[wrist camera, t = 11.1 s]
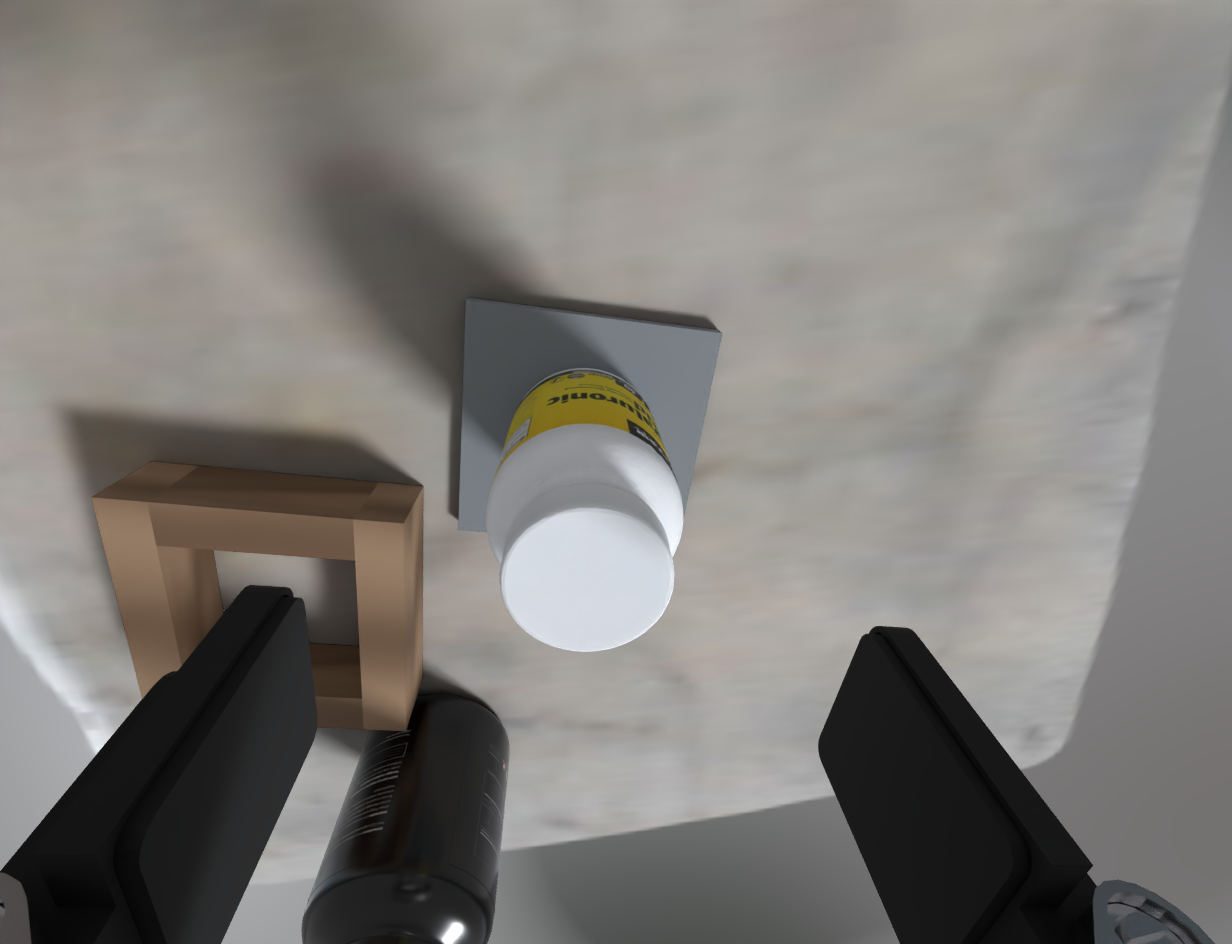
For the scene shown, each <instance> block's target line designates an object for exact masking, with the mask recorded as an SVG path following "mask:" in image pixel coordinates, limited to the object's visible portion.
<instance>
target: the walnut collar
mask: <svg viewBox="0 0 1232 944" xmlns="http://www.w3.org/2000/svg"><path fill="white" fill-rule="evenodd" d="M91 498H92V502H93V506H94V510H95V514H96V518H97V522H98V526H99V530H100V534H101V538H102V542H103V546H104V550H105V554H106V557H107V561H108V565H109V569H110V573H111V577H112V581H113V585H114V589H115V593H116V597H117V601H118V605H119V609H120V613H121V617H122V621H123V625H124V629H125V633H126V637H127V641H128V645H129V649H130V653H131V656H132V660H133V664H134V668H135V672H136V676H137V680H138V684H139V688H140V692H141V696H142V699H143V698H144V696H145V695H146V694H147V693H148V692H149V690H150V689H151V688H152V687H153V686H154V684H155V683H156V682H157V681H159V680H160V679H161V678H162V677H163V676H164V675H166V674H168V673H170V672H171V671H178V670H179V669H180V667H181V666H182V665H183V664H184V662H185V661H186V660H187V659H188V657H189V656H190V655H191V654H192V652H193V651H194V650H195V649H196V647H197V646H198V645H199V644H200V642H201V641H202V640H203V639H204V637H205V636H206V635H207V634H208V632H209V631H210V630H211V629H212V627H213V626H214V625H215V624H216V622H217V621H218V620H219V619H220V617H221V616H222V615H223V614H224V613H223V607H222V601H221V595H220V589H219V583H218V577H217V570H216V564H215V558H214V552H213V550H220V551H233V552H247V553H260V554H273V555H286V556H299V557H312V558H325V559H339V560H352V561H355V567H356V587H357V607H358V627H359V646H347V645H330V644H313V643H309V648H310V656H311V665H312V674H313V682H314V691H315V700H316V708H317V717H318V723H317V727H321V728H344V729H367V730H390V731H406V729H407V726H408V723H409V720H410V716H411V713H412V710H413V707H414V704H415V701H416V698H417V694H418V691H419V688H420V685H421V682H422V679H423V486H414V485H404V484H393V483H382V482H371V481H360V480H349V479H338V478H327V477H316V476H305V475H294V474H284V473H273V472H262V471H251V470H240V469H229V468H218V467H207V466H196V465H185V464H174V463H164V462H153V461H151V462H149V463H147V464H146V465H144V466H142V467H141V468H139V469H137V470H136V471H134V472H132V473H131V474H129V475H127V476H126V477H124V478H123V479H121V480H119V481H118V482H116V483H114V484H113V485H111V486H109V487H108V488H106V489H104V490H103V491H101V492H99V493H98V494H96V495H94V496H93V497H91Z"/></svg>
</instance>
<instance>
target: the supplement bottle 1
mask: <svg viewBox="0 0 1232 944" xmlns="http://www.w3.org/2000/svg"><path fill="white" fill-rule="evenodd" d="M508 764H509V740H508V737H507V733H506V731H505V729H504V727H503V725H502V724H501V722H500V721H499V720H498V718H497V717H496V716H495V715H494V714H493V713H492V712H490V711H489V710H488V709H486V708H485V707H484V706H482V705H480V704H478V703H476V702H474V701H472V700H469V699H466V698H463V697H459V696H454V695H445V694H433V695H424V696H418V697H417V698H416V701H415V704H414V707H413V710H412V713H411V716H410V720H409V723H408V726H407V729H406V731H390V730H371V731H370V733H369V736H368V738H367V741H366V743H365V746H364V749H363V751H362V753H361V756H360V759H359V762H358V764H357V767H356V770H355V773H354V775H353V778H352V781H351V784H350V786H349V789H348V792H347V795H346V797H345V800H344V803H343V806H342V808H341V811H340V814H339V817H338V819H337V822H336V825H335V828H334V831H333V833H332V836H331V839H330V842H329V844H328V847H327V850H326V853H325V855H324V858H323V861H322V864H321V866H320V869H319V872H318V875H317V877H316V880H315V883H314V886H313V888H312V891H311V894H310V897H309V900H308V903H307V907H306V909H305V913H304V916H303V921H302V942H303V944H487V943H488V941H489V938H490V935H491V932H492V926H493V919H494V912H495V902H496V891H497V881H498V880H497V879H498V871H499V861H500V850H501V840H502V829H503V819H504V808H505V798H506V787H507V777H508Z"/></svg>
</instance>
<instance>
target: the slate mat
mask: <svg viewBox="0 0 1232 944" xmlns="http://www.w3.org/2000/svg"><path fill="white" fill-rule="evenodd" d="M721 337H722V333H721V332H720V331H719V330H714V329H707V328H699V327H691V326H684V325H676V324H668V323H660V322H653V321H645V320H637V319H630V318H622V317H614V316H607V315H599V314H591V313H583V312H576V311H568V310H560V309H553V308H545V307H537V306H529V305H522V304H514V303H506V302H499V301H491V300H483V299H476V298H468V299H466V308H465V338H464V369H463V399H462V430H461V461H460V491H459V522H458V530H466V531H478V532H487V527H486V512H487V503H488V498H489V493H490V489H491V486H492V483H493V479H494V476H495V473H496V470H497V467H498V464H499V461H500V457H501V454H502V451H503V448H504V444H505V441H506V438H507V435H508V432H509V429H510V426H511V423H512V420H513V417H514V414H515V412H516V410H517V408H518V406H519V404H520V402H521V401H522V399H523V398H524V397H525V396H526V394H527V393H528V392H529V391H530V390H531V389H532V388H533V387H534V386H535V385H536V384H537V383H539V382H540V381H542V380H543V379H545V378H546V377H548V376H550V375H552V374H555V373H557V372H560V371H563V370H568V369H574V368H592V369H599V370H603V371H606V372H609V373H612V374H614V375H616V376H618V377H620V378H622V379H623V380H625V381H626V382H627V383H629V384H630V385H631V386H633V387H634V388H635V389H636V390H637V391H638V393H639V394H640V395H641V396H642V397H643V399H644V400H645V402H646V404H647V405H648V407H649V409H650V411H651V413H652V415H653V418H654V420H655V423H656V425H657V428H658V431H659V433H660V436H661V439H662V442H663V445H664V447H665V450H666V453H667V455H668V458H669V461H670V464H671V467H672V470H673V472H674V474H675V476H676V479H677V483H678V486H679V490H680V494H681V499H682V504H683V519H684V514H685V509H686V504H687V500H688V495H689V490H690V485H691V480H692V476H693V471H694V466H695V461H696V457H697V452H698V447H699V442H700V438H701V433H702V428H703V423H704V419H705V414H706V409H707V404H708V399H709V395H710V390H711V385H712V380H713V376H714V371H715V366H716V361H717V357H718V352H719V347H720V342H721ZM677 547H678V546H677Z"/></svg>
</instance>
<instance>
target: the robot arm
mask: <svg viewBox="0 0 1232 944" xmlns="http://www.w3.org/2000/svg"><path fill="white" fill-rule="evenodd" d="M317 723H318V717H317V708H316V700H315V691H314V682H313V674H312V665H311V656H310V648H309V639H308V630H307V622H306V613H305V605H304V601H303V599H302V598H295V597H294V596H293V592H292V591H291V589H290V588H287V587H272V586H257V585H249V586H247V587H245V588H244V589H243V590H242V591H241V592H240V594H239V595H238V596H237V597H236V599H235V600H234V601H233V602H232V604H231V605H230V606H229V607H228V609H227V610H226V611H225V612H224V614H223V615H222V616H221V617H220V619H219V620H218V621H217V622H216V624H215V625H214V626H213V627H212V629H211V630H210V631H209V632H208V634H207V635H206V636H205V637H204V639H203V640H202V641H201V642H200V644H199V645H198V646H197V647H196V649H195V650H194V651H193V652H192V654H191V655H190V656H189V657H188V659H187V660H186V661H185V662H184V664H183V665H182V666H181V667H180V669H179V670H178V671H171V672H170V673H168V674H166V675H164V676H163V677H162V678H161V679H160V680H159V681H157V682H156V683H155V684H154V686H153V687H152V688H151V689H150V690H149V692H148V693H147V694H146V695H145V696H144V698H143V699H142V700H141V701H140V703H139V704H138V705H137V706H136V707H135V709H134V710H133V711H132V712H131V713H130V715H129V716H128V717H127V718H126V719H125V721H124V722H123V723H122V724H121V726H120V727H119V728H118V729H117V730H116V732H115V733H114V734H113V735H112V736H111V738H110V739H109V740H108V741H107V743H106V744H105V745H104V746H103V747H102V749H101V750H100V751H99V752H98V753H97V755H96V756H95V757H94V758H93V759H92V761H91V762H90V763H89V764H88V766H87V767H86V768H85V769H84V770H83V772H82V773H81V774H80V775H79V776H78V778H77V779H76V780H75V781H74V783H73V784H72V785H71V786H70V787H69V789H68V790H67V791H66V792H65V793H64V795H63V796H62V797H61V799H60V800H59V801H58V802H57V803H56V804H55V806H54V807H53V808H52V809H51V810H50V812H49V813H48V814H47V815H46V816H45V818H44V819H43V820H42V821H41V823H40V824H39V825H38V826H37V827H36V829H35V830H34V831H33V832H32V834H31V835H30V836H29V837H28V838H27V840H26V841H25V842H24V843H23V845H22V846H21V847H20V848H19V849H18V850H17V852H16V853H15V854H14V855H13V856H12V858H11V859H10V860H9V862H8V863H7V864H6V865H5V866H4V867H3V869H2V870H1V871H0V944H221V942H222V940H223V938H224V936H225V934H226V931H227V929H228V927H229V925H230V923H231V921H232V918H233V916H234V914H235V912H236V910H237V907H238V905H239V903H240V901H241V899H242V896H243V894H244V892H245V890H246V888H247V886H248V883H249V881H250V879H251V877H252V875H253V872H254V870H255V868H256V866H257V864H258V862H259V859H260V857H261V855H262V853H263V851H264V848H265V846H266V844H267V842H268V840H269V837H270V835H271V833H272V831H273V829H274V827H275V824H276V822H277V820H278V818H279V816H280V813H281V811H282V809H283V807H284V805H285V802H286V800H287V798H288V796H289V794H290V792H291V789H292V787H293V785H294V783H295V781H296V778H297V776H298V774H299V772H300V770H301V768H302V765H303V763H304V761H305V759H306V757H307V754H308V752H309V750H310V748H311V746H312V743H313V741H314V738H315V734H316V730H317ZM818 749H819V756H820V759H821V762H822V764H823V767H824V769H825V771H826V774H827V776H828V778H829V781H830V783H831V785H832V787H833V790H834V792H835V794H836V797H837V799H838V801H839V803H840V806H841V808H842V811H843V813H844V815H845V817H846V819H847V822H848V824H849V827H850V829H851V831H852V834H853V836H854V838H855V840H856V843H857V845H858V848H859V850H860V852H861V854H862V857H863V859H864V861H865V863H866V866H867V868H868V871H869V873H870V875H871V878H872V880H873V882H874V884H875V887H876V889H877V891H878V894H879V896H880V898H881V900H882V903H883V905H884V907H885V910H886V912H887V914H888V917H889V919H890V921H891V924H892V926H893V928H894V931H895V933H896V935H897V938H898V940H899V942H900V944H1215V943H1214V942H1213V941H1212V940H1211V938H1210V937H1208V935H1207V934H1206V933H1205V932H1204V931H1203V930H1202V929H1201V928H1200V926H1199V925H1197V924H1196V923H1195V922H1194V921H1193V920H1192V919H1190V918H1189V917H1188V916H1187V915H1186V914H1184V913H1183V912H1182V911H1181V910H1180V909H1179V908H1177V907H1176V906H1174V905H1173V904H1171V903H1170V902H1168V901H1167V900H1165V899H1164V898H1162V897H1160V896H1159V895H1158V894H1156V893H1154V892H1152V891H1150V890H1148V889H1146V888H1144V887H1141V886H1139V885H1137V884H1134V883H1130V882H1126V881H1122V880H1108V881H1103V882H1102V883H1101V884H1100V885H1098V886H1096V885H1095V883H1094V882H1093V881H1092V879H1091V878H1090V876H1089V875H1088V874H1087V872H1088V871H1089V870H1090V869H1091V867H1092V866H1093V865H1092V864H1091V862H1090V861H1089V859H1088V858H1087V857H1086V856H1085V854H1084V853H1083V852H1082V850H1081V849H1080V848H1079V846H1078V845H1077V844H1076V842H1075V841H1074V840H1073V838H1072V837H1071V836H1070V835H1069V833H1068V832H1067V831H1066V830H1065V828H1064V827H1063V825H1062V824H1061V823H1060V821H1059V820H1058V819H1057V818H1056V816H1055V815H1054V814H1053V812H1052V811H1051V810H1050V809H1049V807H1048V806H1047V805H1046V803H1045V802H1044V800H1043V799H1042V798H1041V797H1040V795H1039V794H1038V793H1037V791H1036V790H1035V789H1034V787H1033V786H1032V785H1031V783H1030V782H1029V781H1028V780H1027V778H1026V777H1025V776H1024V774H1023V773H1022V772H1021V770H1020V769H1019V768H1018V766H1017V765H1016V764H1015V763H1014V761H1013V760H1012V759H1011V757H1010V756H1009V755H1008V753H1007V752H1006V751H1005V749H1004V748H1003V747H1002V746H1001V744H1000V743H999V742H998V740H997V739H996V738H995V736H994V735H993V734H992V732H991V731H990V730H989V729H988V727H987V726H986V725H985V723H984V722H983V721H982V719H981V718H980V717H979V715H978V714H977V713H976V712H975V710H974V709H973V708H972V706H971V705H970V704H969V702H968V701H967V700H966V698H965V697H964V696H963V694H962V693H961V692H960V691H959V689H958V688H957V687H956V685H955V684H954V683H953V681H952V680H951V679H950V677H949V676H948V675H947V674H946V672H945V671H944V670H943V668H942V667H941V666H940V664H939V663H938V662H937V660H936V659H935V658H934V657H933V655H932V654H931V653H930V651H929V650H928V649H927V647H926V646H925V645H924V643H923V642H922V641H921V640H920V638H919V637H918V636H917V634H916V633H915V632H914V631H913V630H911V629H909V628H901V627H886V626H876V627H874V628H873V629H871V631H870V633H869V634H865V635H863V636H862V638H861V639H860V642H859V644H858V647H857V649H856V651H855V654H854V656H853V658H852V661H851V663H850V666H849V668H848V670H847V673H846V675H845V678H844V680H843V682H842V685H841V687H840V690H839V692H838V694H837V697H836V699H835V702H834V704H833V706H832V709H831V711H830V714H829V716H828V718H827V721H826V723H825V725H824V728H823V730H822V733H821V735H820V738H819V743H818Z"/></svg>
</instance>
